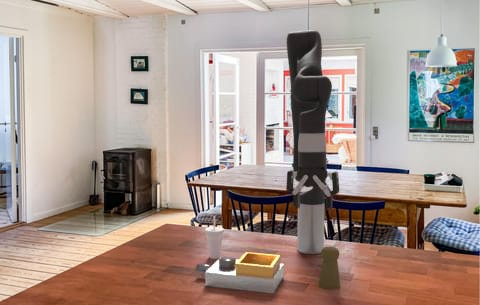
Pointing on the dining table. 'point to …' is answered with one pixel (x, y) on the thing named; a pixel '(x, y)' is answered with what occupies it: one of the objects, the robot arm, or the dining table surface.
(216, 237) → the smoothie
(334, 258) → the cork
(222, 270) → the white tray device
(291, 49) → the robot arm
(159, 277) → the dining table surface
